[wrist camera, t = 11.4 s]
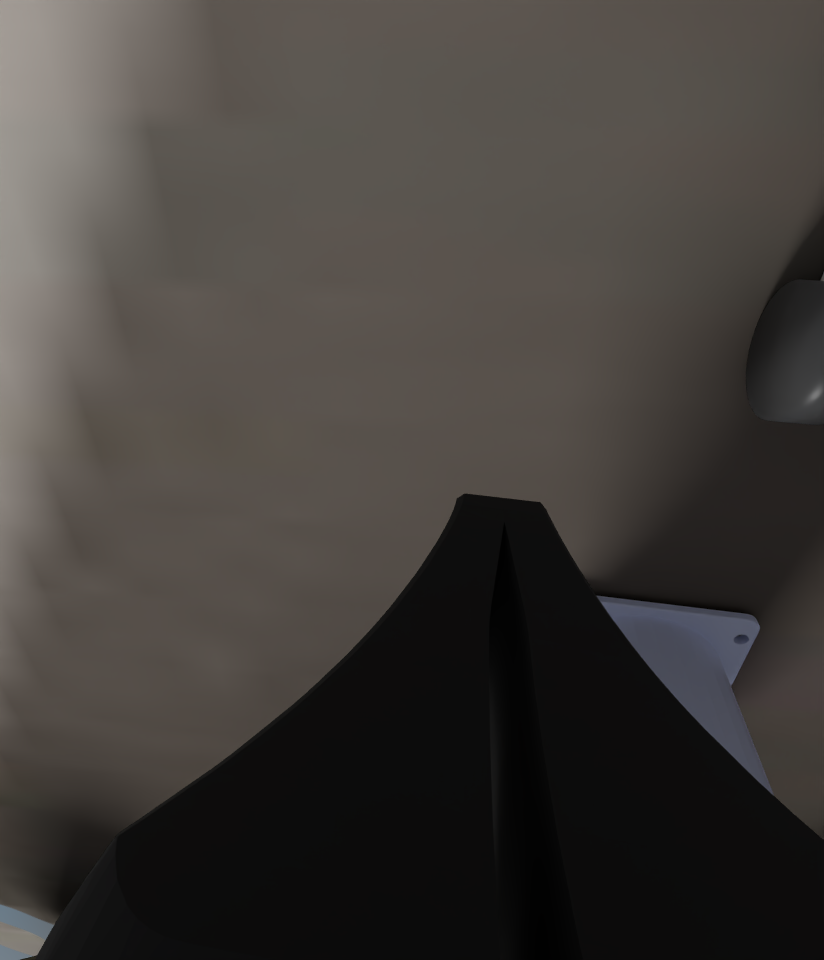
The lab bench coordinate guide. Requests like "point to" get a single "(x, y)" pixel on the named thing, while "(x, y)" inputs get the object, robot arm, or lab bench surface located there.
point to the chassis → (789, 356)
